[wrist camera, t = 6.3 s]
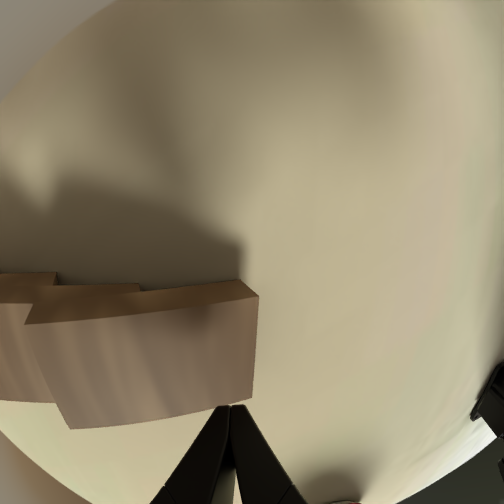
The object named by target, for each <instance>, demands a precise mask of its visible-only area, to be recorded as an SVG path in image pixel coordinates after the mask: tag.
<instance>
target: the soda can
mask: <svg viewBox="0 0 504 504" xmlns="http://www.w3.org/2000/svg"><path fill="white" fill-rule="evenodd" d="M331 504H361V503H355V502H352V501H341V502H335V503H331Z"/></svg>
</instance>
